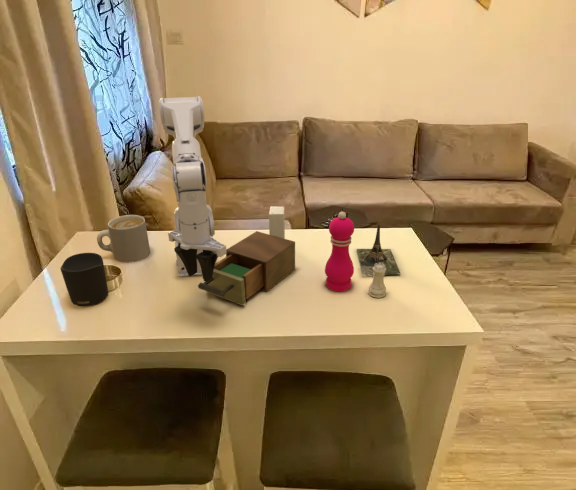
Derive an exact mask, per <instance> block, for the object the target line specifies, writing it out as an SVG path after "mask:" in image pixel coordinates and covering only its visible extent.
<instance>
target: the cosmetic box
mask: <svg viewBox="0 0 576 490" xmlns="http://www.w3.org/2000/svg"><path fill="white" fill-rule="evenodd" d="M268 221H269V222H268V227H269V228H268V229H269V233H268V234H269V235H273V236H276V237H280V238H284V239H286V230H285V229H286V228H285V227H286V226H285V225H286V223H285V221H286V220H285V206H278V205H277V206H276V205H275V206H274V205H273V206H272V205H271V206H270V207H269V212H268Z"/></svg>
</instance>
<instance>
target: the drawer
mask: <svg viewBox="0 0 576 490" xmlns="http://www.w3.org/2000/svg"><path fill="white" fill-rule="evenodd" d="M231 263H232V264H235V265H239V266H242V267H245V268H248V269H251V270H250V271H249V272H247V273H246V274H244V275H243V278H240V277H237V276H234V275H231V274H228V273H225V272H222V271H220V270H221V269H223V268H224V267H226V266H228V265H229V264H231ZM263 286H264V264H262V263H258V262H255V261H252V260H249V259H246V258H242V257H239V256H236V255H233V254H230V255H228V256H227V257H226V256H225V257H223V258H222V259H220V260H219V261H216V263H215V266H214V270H213V276H212V279H210V280H209V281H207V282H205V281H203V282H199V283H198V285H197V288H198V290H200V291H205V292H206V293H208V294H211V295H213V296H216V297H219V298H221V299H224V300H227V301H230V302H233V303H235V304H238V305H241V306H244V305H245V304H246V300H248V299H249V298H250V297H251V296H253V295H254V294H256V293H257V292H259V291H260V289H261V288H262V287H263Z"/></svg>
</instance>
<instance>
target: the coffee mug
mask: <svg viewBox="0 0 576 490" xmlns="http://www.w3.org/2000/svg"><path fill="white" fill-rule="evenodd" d="M107 228H108V229H103V230H101V231H99V232H98V233H97V235H96V242H97V245H98V247H99V248H100V249H101V250H102V251H105V252H110V253H112V254H113V257H114V259H115V260H116V261H119V262H122V263H134V262H138V261H141V260H144V259H146V258H148V257H149V255H150V254H151V247H150V241H149V235H148V230H147V224H146V219H145V217H144V216H142V215H139V214H125V215H120V216H116V217H114V218H112V219H110V220H109V221H108V222H107ZM104 237H108V238H109V240H110V241H109V243H108V244H105V243H104V242H103V238H104Z"/></svg>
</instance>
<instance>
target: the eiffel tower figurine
mask: <svg viewBox="0 0 576 490" xmlns="http://www.w3.org/2000/svg"><path fill="white" fill-rule="evenodd" d="M380 218H381V217H379V220H378V221H377V229H376V233H375V238H374V243H373V246H372V247H371V248H356V252H357V253H356V254H357V258H358V260H359V264H360V269H361V276H362V277H363V278H364V277H365V278H366V277H374V275H373V273H374V270H373V267H374V265H375V264H376V263H377V265H378V264H379V263H381V265H382V264H384V265H385V268H386V271H385V272H384V274H385V276H387V275H388V276H389V275H401V270H400V269H399V267H398V264H397V261H396V258H395V256H394V253H393V252H392V249H391V248H382V246H381V245H382V244H381V221H380V220H381V219H380Z"/></svg>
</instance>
